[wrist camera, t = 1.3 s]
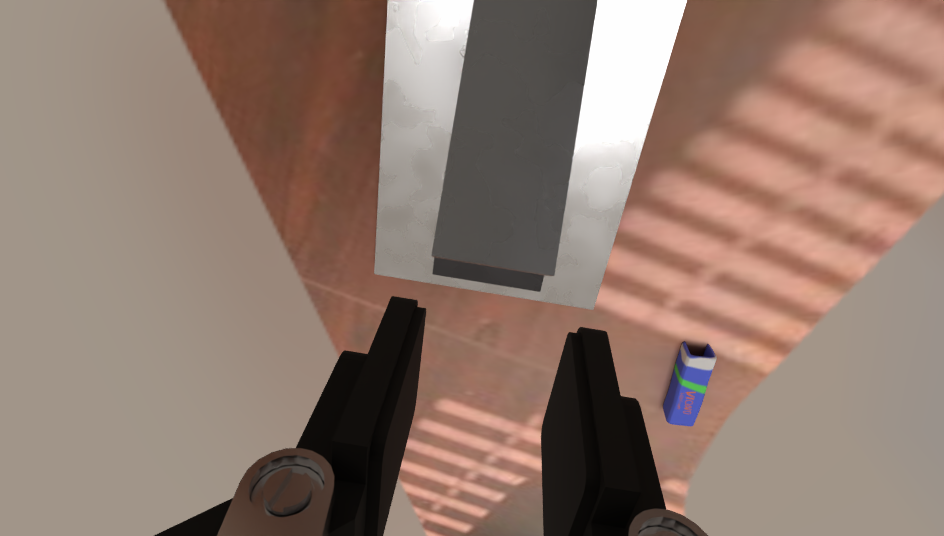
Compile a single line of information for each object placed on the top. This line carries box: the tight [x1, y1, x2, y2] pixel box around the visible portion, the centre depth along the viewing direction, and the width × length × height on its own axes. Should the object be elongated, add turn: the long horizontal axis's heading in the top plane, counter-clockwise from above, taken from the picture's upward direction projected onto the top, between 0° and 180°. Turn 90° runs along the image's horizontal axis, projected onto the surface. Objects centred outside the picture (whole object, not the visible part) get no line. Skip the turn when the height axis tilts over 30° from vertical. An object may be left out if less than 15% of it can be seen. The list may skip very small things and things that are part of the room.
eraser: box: [663, 342, 717, 426], centre depth 37 cm, size 2×6×2 cm, turn 177°
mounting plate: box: [374, 0, 687, 310], centre depth 27 cm, size 22×14×5 cm, turn 172°
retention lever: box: [431, 0, 598, 276], centre depth 22 cm, size 16×5×1 cm
